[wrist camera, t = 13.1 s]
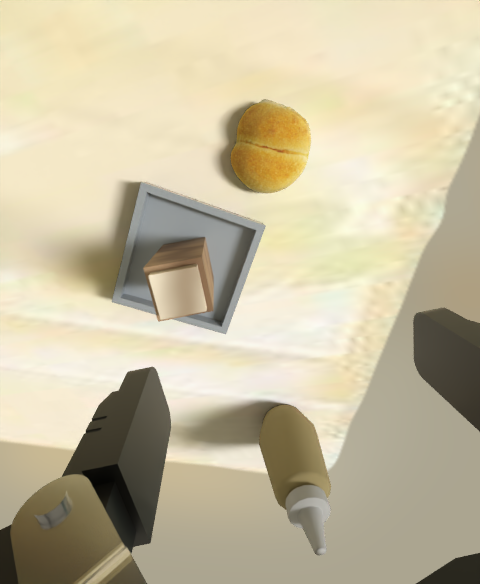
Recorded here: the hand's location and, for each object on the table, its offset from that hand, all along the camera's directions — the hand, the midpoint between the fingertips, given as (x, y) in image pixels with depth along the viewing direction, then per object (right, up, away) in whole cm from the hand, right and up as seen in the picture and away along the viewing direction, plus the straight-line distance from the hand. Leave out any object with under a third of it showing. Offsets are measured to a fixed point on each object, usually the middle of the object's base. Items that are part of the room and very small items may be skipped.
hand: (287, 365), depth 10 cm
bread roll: (+2, +18, +26) cm, 32 cm away
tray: (-8, +6, +29) cm, 31 cm away
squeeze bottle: (+5, -17, +38) cm, 42 cm away
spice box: (-8, +6, +28) cm, 30 cm away
